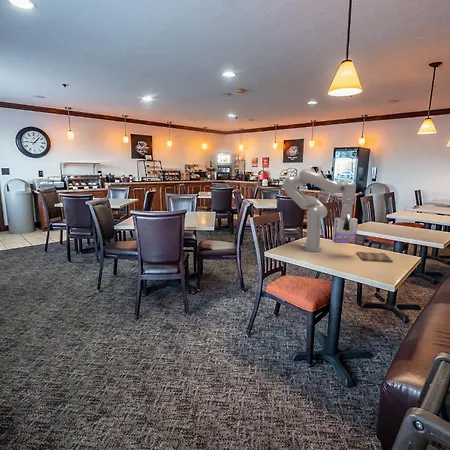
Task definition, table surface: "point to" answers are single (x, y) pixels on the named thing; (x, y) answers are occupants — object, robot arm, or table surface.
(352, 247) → the table surface
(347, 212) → the robot arm
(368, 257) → the serving board
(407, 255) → the table surface
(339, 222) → the candy box
